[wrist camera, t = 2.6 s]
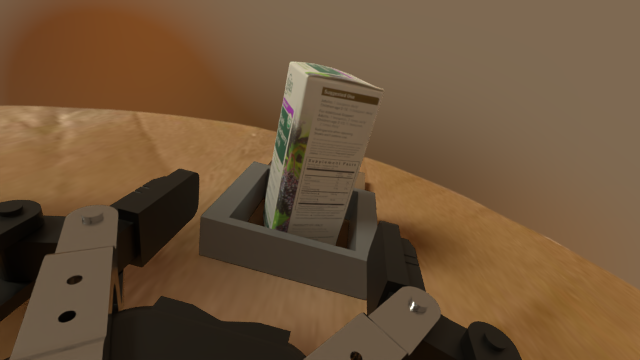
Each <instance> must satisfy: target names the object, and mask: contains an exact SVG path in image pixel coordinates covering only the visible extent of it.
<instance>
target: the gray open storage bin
mask: <svg viewBox="0 0 640 360" xmlns="http://www.w3.org/2000/svg"><path fill="white" fill-rule="evenodd" d="M270 169H271V166H270V165H266V164H262V163H258V162H253V163H252V164H251V165H250V166H249V167H248V168H247V169H246V170H245V171H244V172H243V173H242V174H241V175H240V176H239V177H238V178H237V179H236V180H235V181H234V182H233V184H232V185H231V186H230V187H229V188H228V189H227V190H226V191H225V192H224V193H223V194H222V195H221V196H220V197H219V198H218V199H217V200H216V201H215V202H214V203H213V204H212V205H211V206H210V207H209V208H208V209H207V210H206V211H205V212H204V213H203V214H202V216H201V219H200V241H199V255H203V256H206V257H210V258H214V259H217V260H221V261H225V262H228V263H232V264H236V265H239V266H243V267H246V268H250V269H254V270H257V271H261V272H265V273H268V274H272V275H276V276H279V277H283V278H287V279H290V280H294V281H298V282H301V283H305V284H309V285H312V286H316V287H320V288H323V289H327V290H330V291H334V292H338V293H341V294H345V295H349V296H352V297H356V298H360V299H363V300H366V298H367V257H368V252H369V249H370V246H371V243H372V240H373V238H374V235H375V232H376V229H377V214H376V199H375V193H373V192H369V191H365V190H362V189H358V188H353V192H352V195H351V198H350V201H349V204H348V207H347V211H346V214H345V217H344V219H347V220H349V231H348V242H347V249H345V248H342V247H338V246H334V245H330V244H327V243H323V242H319V241H315V240H312V239H308V238H304V237H301V236H297V235H293V234H289V233H286V232H282V231H278V230H274V229H271V228H267V227H263V226H260V225H256V224H252V223H248V222H247V221H248V220H249V218H250V217H251V215H252V214H253V212H254V211H255V209H256V208H257V206H258V205H259V203H260V202H261V200H262V199H263V198H266V193H267V187H268V181H269V175H270Z"/></svg>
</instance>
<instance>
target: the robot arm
mask: <svg viewBox="0 0 640 360" xmlns="http://www.w3.org/2000/svg"><path fill="white" fill-rule="evenodd" d="M198 202H199V175H198V173H196V172H192V171H188V170H184V169H178V170H176V171H175V172H173V173H171V174H170V175H168V176H167V177H166V176H164V177H160V178H157V179H153V180H151V181H149V182H148V183H146V184H145V185H143V187H140V188H138V189H136V190H135V192H132V193H130V194H128V195H127V196H125V197H123V198H122V199H120V200H118V201H117V202H115V203H114V204H112V205H110V206H105V205H93V206H86V207H82V208H79V209H77V210H74V211H73V212H71V213H70V214H68V215H67V217H63V216H43V213H42V209H41V206H40V204H39V203H37V202H34V201H30V200H12V201H6V202H1V203H0V321H2V320H3V319H4V318H5V317H7V316H8V315H9V314H10V313H12V312H13V311H14V310H15V309H17V308H18V307H19V306H20V305H21V304H23V303H24V302H25V301H26V300H28V299H29V298H30V297H31V298H30V301H29V304H28V307H27V310H26V313H25V316H24V319H23V322H22V325H21V327H20V330H19V333H18V336H17V339H16V342H15V345H14V348H13V351H12V354H11V357H9V358H7V359H4V360H522V359H521V357H520V355H519V352H518V350H517V348H516V346H515V345H514V344H513V342H512V341H511V340H510V339H509V338H508V337H507V336H506V335H505V334H504V333H503V332H502V331H500V330H499V329H497V328H496V327H494V326H492V325H490V324H488V323H485V322H479V321H478V322H473V323H471V324H470V325H469V327H468V328H467V329H466V328H465V327H463V326H461V325H459V324H457V323H455V322H453V321H451V320H449V319H448V318H446V317H444V316H443V315H442V314H441V311H440V307H439V305H438V303H437V302H436V301H435V299H434V298H433V297H432V296H430V295H429V294H428V293H426V290H425V287H424V283H423V279H422V275H421V271H420V267H419V263H418V259H417V255H416V251H415V248H414V247H413V245H412V244H411V243H410V242H409V240H407V239H404V238H401V236H400V231H399V226H398V225H396V224H392V223H388V222H384V221H380V222H379V224H378V226H377V229H376V232H375V235H374V238H373V240H372V243H371V246H370V249H369V252H368V257H367V315H366V314H365V313H360V314H359V315H357V316H356V317H355V318H354V319H353V320H351V321H350V322H349V323H348V324H346V325H345V326H344V327H343V328H341V329H340V330H339V331H338V332H337V333H335V334H334V335H333V336H332V337H330V338H329V339H328V340H327V341H326V342H324V343H323V344H322V345H321V346H319V347H318V348H317V349H316V350H315V351H313V352H312V353H311V354H310V355H308V356H307V357H306V356H305V355H304V354H303V353H302V352H301V351H300V350H299V349H297V348H296V347H295V346H293V345H292V344H290V343H288V340H289V336H290V332H291V331H287V330H283V329H280V328H276V327H273V326H269V325H265V324H262V323H255V322H227V321H220V320H218V319H217V318H215V317H213V316H211V315H210V314H208V313H206V312H205V311H203V310H201V309H199V308H198V307H196V306H194V305H193V304H189V303H185V302H182V301H178V300H174V299H171V298H167V297H163V296H161V297H160V298H159V299H158V301H157V302H156V303H155V304H154V305H153V306H143V307H135V308H129V309H125V310H124V268H125V267H126V266H127V265H128V264H131V265H135V266H139V267H143V266H144V265H145V264H146V263H147V262H148V261H149V260H150V259H151V258H152V257H153V256H154V255H155V254H156V253H157V252H158V251H159V250H160V249H161V248H162V247H163V246H165V245H166V244H167V243H168V242H169V241H170V240H171V239H172V238H173V237H174V236H175V235H176V234H177V233H178V232H179V231H180V230H181V229H182V228H183V227H184V226H185V225H186V224H187V223H188V222H189V221H190V220H191V219H192V218H193V217H194V215H195V214H196V212H197V209H198Z"/></svg>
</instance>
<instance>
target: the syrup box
mask: <svg viewBox="0 0 640 360" xmlns="http://www.w3.org/2000/svg"><path fill="white" fill-rule="evenodd" d="M383 94H384V89H381V88H378V87H375V86H373V85H371V84H369V83H367V82H365V81H362V80H360V79H358V78H356V77H355V76H353V75H351V74H348V73H345V72H342V71H340V70H336V69H334V68H330V67H326V66H321V65H317V64H311V63H304V62H290V65H289V70H288V76H287V82H286V87H285V93H284V99H283V104H282V110H281V115H280V121H279V126H278V131H277V136H276V142H275V147H274V153H273V158H272V164H271V169H270V175H269V181H268V187H267V193H266V199H265V206H264V212H263V221H264V227H267V228H271V229H274V230H278V231H282V232H286V233H289V234H293V235H297V236H301V237H304V238H308V239H312V240H315V241H319V242H323V243H327V244H330V245H334V246H335V245H336V242H337V239H338V235H339V232H340V229H341V226H342V224H343V220H344V217H345V214H346V211H347V207H348V204H349V201H350V198H351V195H352V192H353V188H354V185H355V182H356V179H357V176H358V172H359V169H360V166H361V163H362V160H363V157H364V154H365V150H366V147H367V144H368V141H369V138H370V135H371V132H372V128H373V125H374V122H375V119H376V115H377V112H378V109H379V106H380V103H381V100H382V96H383Z"/></svg>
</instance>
